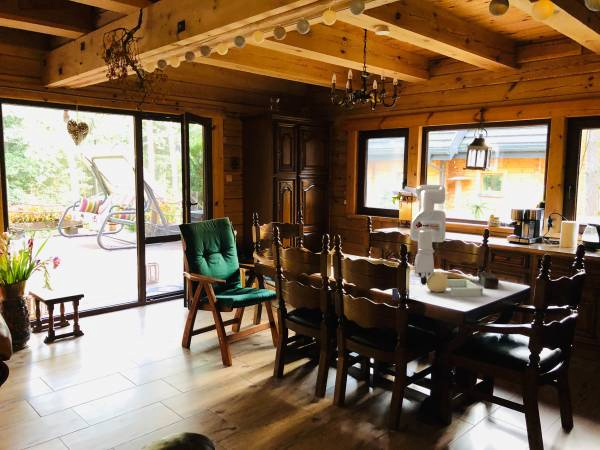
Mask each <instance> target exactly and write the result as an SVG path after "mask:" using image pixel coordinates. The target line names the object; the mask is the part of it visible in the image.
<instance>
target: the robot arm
mask: <svg viewBox="0 0 600 450" xmlns="http://www.w3.org/2000/svg"><path fill="white" fill-rule="evenodd" d="M415 193H416V196H417V198H418V201H419V203H418V204H419V205H418V207H419V208H418V213H417V214H416V215H415V216H414V217H412V220H411V222H410V228H409V229H410V230H409V238H410V240H412V241H414V242H417V254H415V259H414V265H413V267H414V268H413V269H414V272H413V274H414V276H415V277H420V283H421V285H422V286H427V278H428V276H429V275H432V274H434V271H435V261H434V253H435V249H434V248H433V243H442V242H443V243H444V242H445V239H446V229H447V228H446V227H447V226H446V223H447V217H446V213H445V211H444V210H440V209H439V210H437V209H435V204H436V205H437V204H438V205H441V204H444V203H445V201H446V188H445V185H443V184H420V185H419V184H418V185H417V186H416V188H415ZM419 222H420V224H421V225H424V226H420V227H416V225H417V224H418V223H419Z"/></svg>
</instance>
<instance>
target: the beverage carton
mask: <svg viewBox="0 0 600 450" xmlns="http://www.w3.org/2000/svg"><path fill="white" fill-rule="evenodd" d="M478 275H479V276H478V282H479V283H480V284H481V286H482V288H483V289H488V290H489V289H490V290H498V289H499V285H500V284H499V282H500V279H499V278H497V276H496V275H495V274H493V272H485V271H480V272H479V274H478Z"/></svg>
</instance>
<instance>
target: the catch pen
mask: <svg viewBox="0 0 600 450" xmlns="http://www.w3.org/2000/svg"><path fill="white" fill-rule="evenodd" d="M447 279H448V278H447ZM459 287H460V288H459ZM447 288H450V290H449V291H450V297H483V295H484V294H483V291H484V290H483V289H484V288H483V287H480V286H479V285H477V284H475V283H474V282H472V281H471V280H468V279H467V278H466V279H465V278H464V279H459V278H458V279H451V278H450V279H448V286H447Z"/></svg>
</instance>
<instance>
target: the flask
mask: <svg viewBox="0 0 600 450" xmlns="http://www.w3.org/2000/svg"><path fill="white" fill-rule="evenodd" d="M391 290H392V291H391V300H394V301H400V298H399V294H398V291H397V289H392V288H391ZM409 299H410V290H409V291H408V294H407V298H406V300H409ZM406 300H405V301H406Z"/></svg>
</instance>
